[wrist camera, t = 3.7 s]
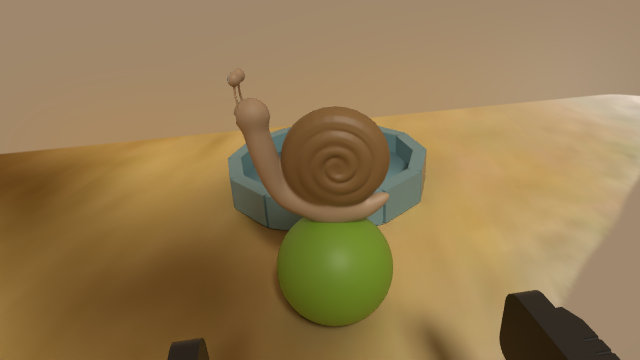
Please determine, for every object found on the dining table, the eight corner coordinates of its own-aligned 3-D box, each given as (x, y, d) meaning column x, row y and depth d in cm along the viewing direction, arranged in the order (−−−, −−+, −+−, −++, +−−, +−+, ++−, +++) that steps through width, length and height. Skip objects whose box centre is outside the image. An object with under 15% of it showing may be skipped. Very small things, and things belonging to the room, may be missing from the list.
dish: (196, 219, 30) (189, 189, 29) (276, 143, 43) (273, 120, 42) (412, 244, 26) (413, 210, 25) (430, 151, 39) (431, 126, 38)
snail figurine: (273, 275, 24) (244, 57, 19) (388, 274, 24) (390, 50, 18) (252, 351, 19) (206, 88, 14) (396, 353, 19) (403, 79, 14)
